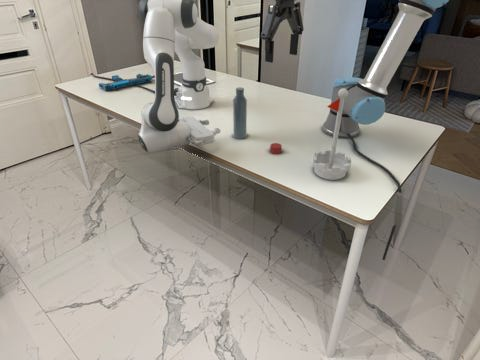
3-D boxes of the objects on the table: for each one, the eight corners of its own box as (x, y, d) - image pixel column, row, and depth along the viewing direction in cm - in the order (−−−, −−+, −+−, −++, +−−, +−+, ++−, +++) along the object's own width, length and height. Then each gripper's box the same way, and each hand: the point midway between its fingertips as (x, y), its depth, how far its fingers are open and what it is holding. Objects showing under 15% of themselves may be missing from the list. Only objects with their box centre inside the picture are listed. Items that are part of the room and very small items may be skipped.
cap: (281, 154, 132) (282, 148, 131) (270, 154, 132) (270, 148, 131) (280, 148, 136) (281, 142, 134) (269, 148, 136) (270, 142, 134)
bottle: (237, 140, 142) (237, 91, 131) (231, 135, 146) (230, 87, 135) (248, 137, 145) (249, 89, 133) (242, 132, 149) (242, 85, 137)
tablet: (160, 77, 218) (160, 76, 218) (186, 71, 229) (186, 70, 229) (187, 89, 198) (187, 88, 198) (215, 82, 209) (215, 81, 209)
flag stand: (334, 159, 128) (348, 80, 112) (356, 176, 118) (375, 92, 101) (304, 166, 124) (314, 84, 108) (324, 184, 114) (338, 97, 97)
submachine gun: (143, 68, 224) (161, 74, 208) (144, 74, 226) (162, 80, 210) (91, 78, 206) (107, 86, 189) (92, 84, 208) (108, 92, 191)
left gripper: (192, 136, 121) (226, 128, 127) (171, 117, 136) (202, 110, 142) (194, 152, 125) (226, 143, 131) (173, 131, 139) (203, 124, 145)
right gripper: (299, -17, 113) (293, 50, 124) (249, -13, 97) (248, 63, 109) (318, -16, 108) (311, 53, 120) (270, -12, 93) (267, 67, 105)
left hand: (213, 126), depth 136 cm, fingers open, 8 cm apart
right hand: (281, 58), depth 114 cm, fingers open, 13 cm apart
